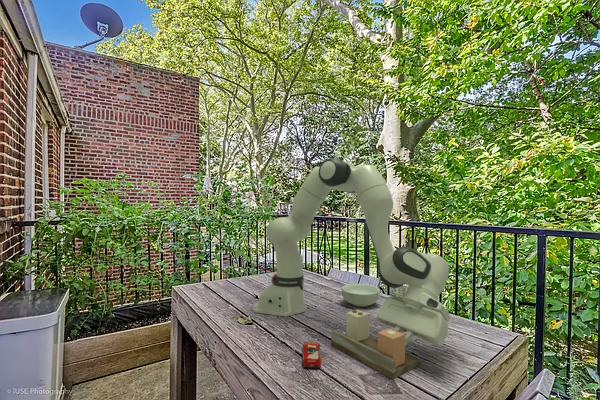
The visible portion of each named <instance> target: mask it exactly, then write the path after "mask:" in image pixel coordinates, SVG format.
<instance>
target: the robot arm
mask: <svg viewBox="0 0 600 400" xmlns="http://www.w3.org/2000/svg"><path fill="white" fill-rule="evenodd" d="M332 190H337V191H342V192H345V193H348V194H355V195H356V197H357V200H358V202H359V205H360V207H361V210H362V213H363V215H364V220H365V222H366V226H367V229H368V234H369V238H370V240H371V242H372V247H373V249H374V252H375V255H376V260H377V274H378V275H377V276H378V278H379V279H380V281H381V282H382V284H384V285H385V286H386V287H389V288H392V289H396V288H399V287H402V286H403V285H404V284H405V283H406V282H407V283H408V284H409V287H408V289H407V291H406V293H405V295H404V297H403V298H400V297H396V295H392V296H389V297H387V298H386V299H385V301H383V303H382V305H381V306H380V307H379V309H378V310H377V312H376V318H377V320H378V321H379V322H380V323H381V324H383V325H386V326H388V327H390V328H392V329H393V328H394V329H393V330H395V331H398V332H400V333H403V334H404V333H405V347H406V346H407V344H408V343H410V342H411V341H413V340H414V338H415V337H416V338H419V339H422V340H424V341H427V342H430V343H432V344H434V345H437V346H440V345H442V344H444V343H445V340H446V338H447V335H448V331H449V322H450V321H451V319H452V317H451V315H450V313H449V311H448V310H447V309H446V307H445V305H444V304H443V303H441V302H440V301H439V297H440V294H441V293H442V292H443V291H444V290H445V287H446V284H447V280H448V278H449V274H450V267H449V263H448V262H447V261H446V259H444V258H443V256H441V255H438V254H436V253H434V252H433V253H432V252H431V253H423V252H421V251H418V250H416V249H414V248H412V247H409V246H406V245H405V246H399V247H398V248H396V249H394V246H393V243H392V241H391V237H390V235H389V229H388V228H389V221H390V218H391V215H392V212H393V209H394V200H393V195H392V193H391V191H390V189H389V187H388V185H387V182H386V181H385V178H383V176H382V174H381V172H379V170H378V168H376V167H375V165H372V164H363V165H360V166H358V167H356V166H355V165H354V164H353V163H351V162H347V161H344V160H342V159H341V158H336V157H329V158H326V159H325V160H323V161H322V162H321V164H320V166H317V167H315V168H314V169H313V170H312V171H311V172H310V173H309V174H308V175H307V177H306V178H305V180H304V181H303V182H302V185H300V188H299V189H298V191H297V193H296V194H295V196H294V197H293V199H292V209H291V212H290V214H289V215H288V216H282V217H281V216H280V217H277V218H275V219H272V220H271V221H270V222H269V223H268V225H267V226H266V227H267V228H266V235H267V237H268V240H269V241H270V242H271V244H272V245H273V248H274V251H275V252H274V253H275V256H276V257H275V258H276V273H274V274H273V275H272V277H271V284H269V286H267V287H266V288H265V289H264V290H263V291H262V292H261V293H260V294H259V297H258V301H257V302H255V304H254V305H253V306H252V312H253V313H258V314H264V315H272V316H277V317H290V316H292V315H297V314H301V313H304V312H306V311H307V306H306V301H305V294H304V288H305V276H304V274H303V271H304V269H303V266H304V265H303V263H304V260H303V255H302V253H301V252H300V251H299V246H298V242H301V241H303V240H305V239H306V238H308V237H309V235H310V234H311V231H312V224H313V221H314V219H315V216H316V214H317V212H318V211H319V209H320V208H321V206H322V204H323V203H324V202H325V199H326V198H327V196H329V195H328V194H329V193H330V192H331V191H332Z"/></svg>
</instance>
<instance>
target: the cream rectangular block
mask: <svg viewBox="0 0 600 400" xmlns="http://www.w3.org/2000/svg"><path fill="white" fill-rule="evenodd" d="M369 317H370V314H369V313H367V312H365V311H362V310H359V309H354V310H352V311H351V310H350V311H347V312H346V315H345V318H346V319H345V322H346V323H345V324H346V325H345V333H346V334H345V335H346V336H347V337H349V338H351V339H353V340H356V341H361V340H364V339H367V338H369V336H370V322H369V321H370V318H369Z"/></svg>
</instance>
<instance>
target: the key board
mask: <svg viewBox="0 0 600 400" xmlns="http://www.w3.org/2000/svg"><path fill="white" fill-rule="evenodd" d="M330 335H331V341H330V342H331V343H330V344H331V346H332V347H334V348H336V349H337V350H340V351H341V352H343V353H345V354H347V355H348V356H351V357H352V358H354V359H356V360H358V361H359V362H361V363H362V364H365V365H366V366H368V367H370V368H371V369H374V370H375V371H377V372H379V373H380V374H382V375H384V376H386V377H388V378H390V379H392V380H395V379H396V378H398V377H400V376H402V375H404V374H406V373H408V372H409V371H412V370H413V369H415V368H417V367H419V366H420V365H421V359H420V358H418V357H416V356H414V355H411V354H410V353H407V352H405V363H403V364H401V365H399V366H397V367H395V360H394V359H392V358H390V357H388V356H386V355H384V354H382V353H380V352H378V339H376V338H374V337H372V336H370V335H369V338H367V339H364V340H361V341H356V340H353V339H351V338H349V337H347V336H346V334H343V333H341V332H340V331H337V330H336V329H333V330H331V334H330Z"/></svg>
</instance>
